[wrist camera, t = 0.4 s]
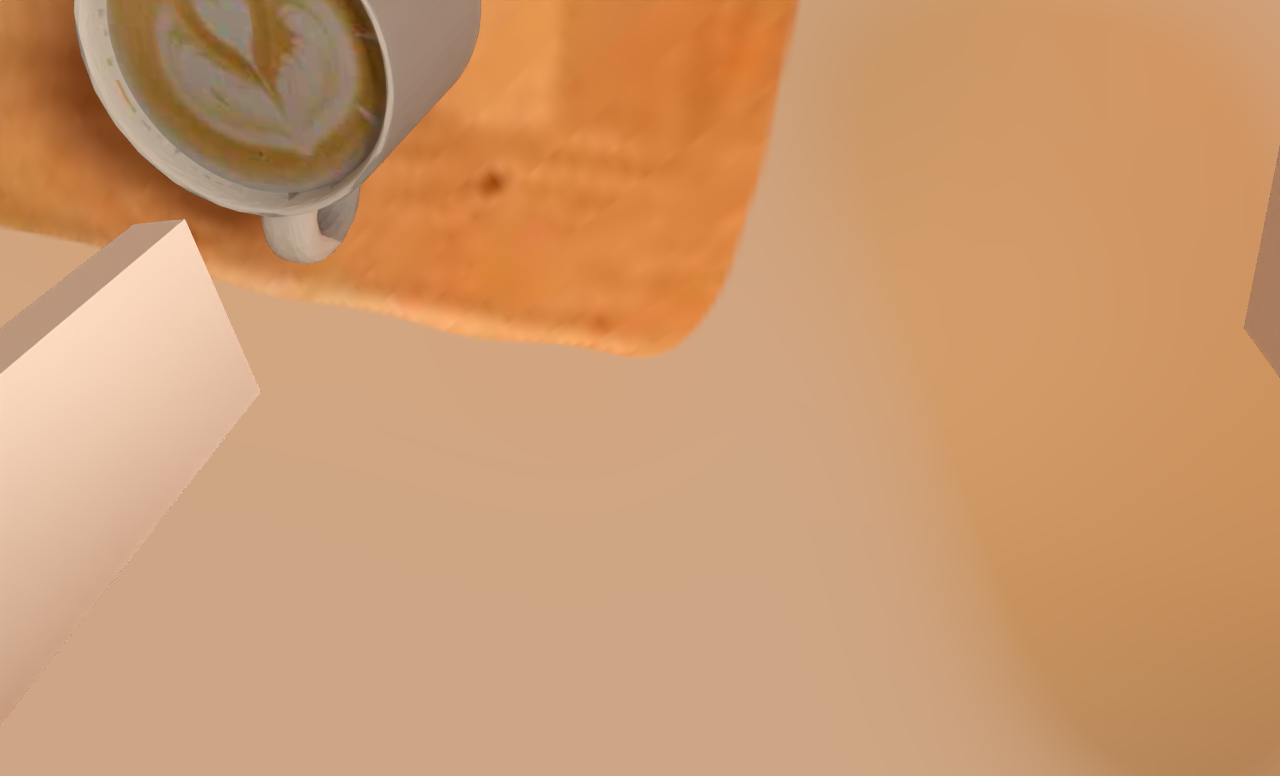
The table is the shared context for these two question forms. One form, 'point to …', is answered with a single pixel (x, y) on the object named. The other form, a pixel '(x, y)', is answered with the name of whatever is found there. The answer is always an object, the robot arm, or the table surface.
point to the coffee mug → (274, 97)
